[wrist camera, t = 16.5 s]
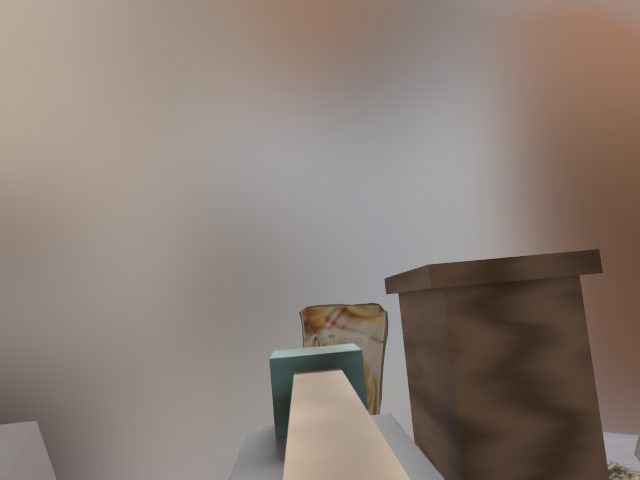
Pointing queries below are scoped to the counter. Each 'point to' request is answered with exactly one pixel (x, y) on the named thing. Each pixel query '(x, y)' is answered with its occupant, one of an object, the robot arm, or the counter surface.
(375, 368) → the pancake mix bag
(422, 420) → the walnut pedestal
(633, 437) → the counter surface
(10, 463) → the robot arm
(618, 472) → the long grey stone
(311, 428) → the oak beam
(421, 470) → the tall grey box
